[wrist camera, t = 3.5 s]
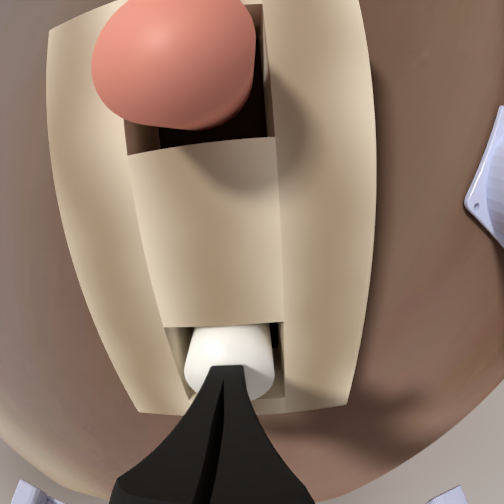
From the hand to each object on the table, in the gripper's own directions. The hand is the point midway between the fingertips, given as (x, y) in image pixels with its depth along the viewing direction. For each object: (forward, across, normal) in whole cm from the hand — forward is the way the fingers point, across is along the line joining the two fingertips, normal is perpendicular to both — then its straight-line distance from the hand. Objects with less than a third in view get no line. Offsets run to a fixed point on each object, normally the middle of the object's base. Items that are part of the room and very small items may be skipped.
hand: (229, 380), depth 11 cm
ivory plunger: (+5, 0, 0) cm, 5 cm away
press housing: (+5, 0, -6) cm, 8 cm away
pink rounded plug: (+2, 0, -12) cm, 12 cm away
